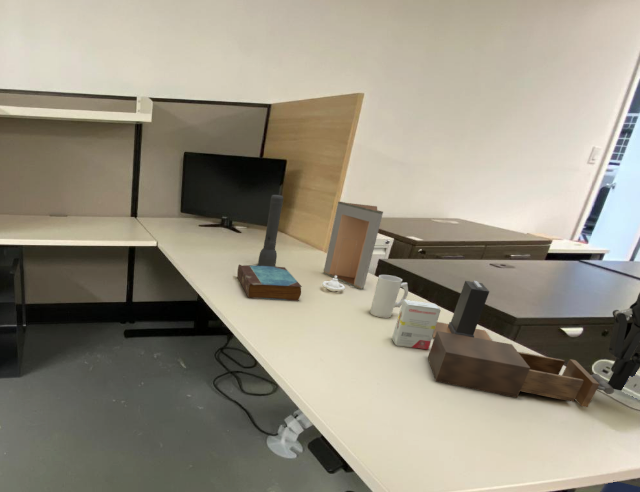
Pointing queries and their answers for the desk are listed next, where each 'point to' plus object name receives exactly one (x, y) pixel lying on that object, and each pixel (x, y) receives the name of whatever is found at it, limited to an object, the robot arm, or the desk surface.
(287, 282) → the book
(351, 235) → the cabinet
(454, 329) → the dark grey upright block
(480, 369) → the cabinet
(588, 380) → the drawer
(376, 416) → the desk surface
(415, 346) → the ink box
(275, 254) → the flashlight
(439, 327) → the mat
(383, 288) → the mug
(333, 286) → the ring around a ball
